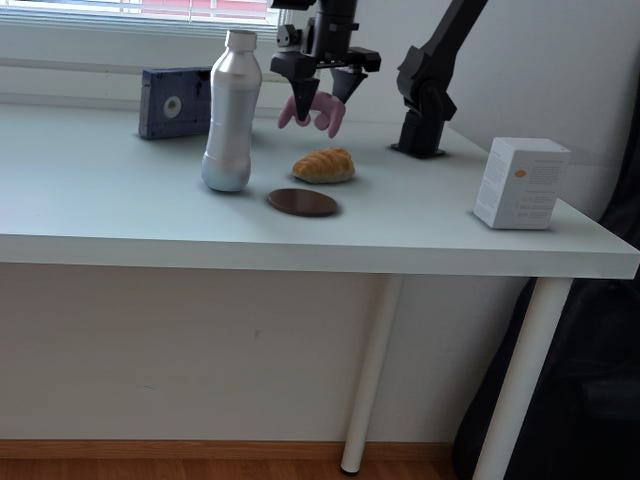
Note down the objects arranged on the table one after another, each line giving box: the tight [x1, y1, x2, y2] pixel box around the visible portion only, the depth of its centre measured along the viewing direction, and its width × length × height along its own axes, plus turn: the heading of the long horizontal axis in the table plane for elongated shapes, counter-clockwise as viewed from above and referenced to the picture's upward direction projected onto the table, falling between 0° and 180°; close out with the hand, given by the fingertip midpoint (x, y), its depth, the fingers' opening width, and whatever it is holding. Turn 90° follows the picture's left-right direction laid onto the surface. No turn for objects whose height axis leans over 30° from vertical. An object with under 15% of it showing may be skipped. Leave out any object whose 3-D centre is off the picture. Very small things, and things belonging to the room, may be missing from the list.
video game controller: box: [277, 90, 347, 139], centre depth 133 cm, size 10×5×7 cm, turn 62°
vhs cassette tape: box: [137, 65, 214, 140], centre depth 134 cm, size 18×3×10 cm, turn 122°
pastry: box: [291, 147, 356, 185], centre depth 121 cm, size 9×7×4 cm
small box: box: [473, 136, 573, 230], centre depth 110 cm, size 8×6×10 cm
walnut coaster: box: [267, 187, 338, 218], centre depth 111 cm, size 9×9×1 cm
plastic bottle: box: [200, 28, 264, 192], centre depth 109 cm, size 6×7×20 cm
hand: (317, 118), depth 134 cm, fingers closed on video game controller, 7 cm apart
